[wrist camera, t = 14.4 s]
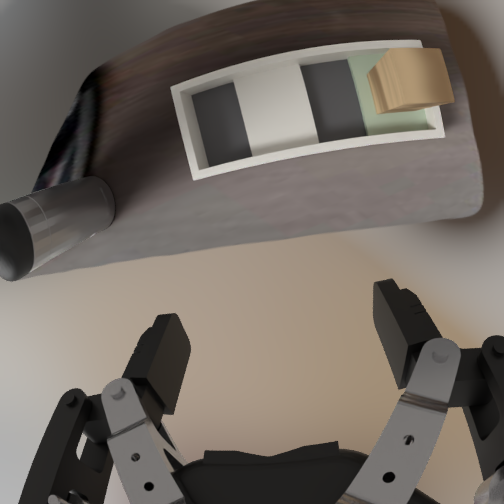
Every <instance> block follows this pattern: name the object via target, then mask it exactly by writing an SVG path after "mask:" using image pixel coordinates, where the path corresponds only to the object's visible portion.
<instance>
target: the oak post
mask: <svg viewBox="0 0 504 504" xmlns="http://www.w3.org/2000/svg"><path fill="white" fill-rule="evenodd" d="M367 78H368V82H369V85H370V89H371V93H372V97H373V101H374V105H375V109H376V114H385V113H396V112H409V111H417V110H421V109H425V108H430V107H434V106H438V105H443V104H448V103H453V102H455V100H454V96H453V91H452V87H451V83H450V80H449V76H448V72H447V69H446V65H445V62H444V59H443V56H442V53H441V50H440V49H439V48H390V49H389V50H388V51H387V52H386V53H385V54H384V55H383V57H382V58H381V59H380V60H379V61H378V62H377V63H376V64H375V66H374V67H373V68H372V69H371V70H370V71H369V72H368V74H367Z"/></svg>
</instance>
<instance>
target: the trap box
mask: <svg viewBox="0 0 504 504" xmlns="http://www.w3.org/2000/svg"><path fill="white" fill-rule="evenodd" d="M390 48H423V46H422V43H421V41H420V40H382V41H365V42H353V43H343V44H335V45H327V46H320V47H314V48H308V49H302V50H296V51H291V52H286V53H281V54H277V55H272V56H268V57H263V58H259V59H255V60H251V61H248V62H244V63H240V64H237V65H233V66H230V67H227V68H223V69H220V70H217V71H214V72H211V73H208V74H205V75H202V76H199V77H196V78H193V79H190V80H188V81H185V82H182V83H180V84H177V85H174V86H172V87H170V88H171V93H172V97H173V101H174V105H175V110H176V114H177V118H178V122H179V126H180V130H181V134H182V138H183V142H184V146H185V150H186V154H187V158H188V162H189V165H190V169H191V173H192V177H193V181H194V180H198V179H201V178H205V177H209V176H213V175H217V174H221V173H225V172H229V171H233V170H238V169H242V168H246V167H251V166H255V165H260V164H264V163H269V162H274V161H279V160H284V159H289V158H294V157H299V156H304V155H310V154H316V153H321V152H327V151H333V150H340V149H346V148H353V147H360V146H367V145H374V144H382V143H391V142H400V141H409V140H420V139H432V138H445V134H444V128H443V122H442V117H441V112H440V108H439V105H438V106H434V107H430V108H425V109H421V110H417V111H409V112H396V113H385V114H376V109H375V105H374V101H373V97H372V93H371V89H370V85H369V82H368V78H367V74H368V72H369V71H370V70H371V69H372V68H373V67H374V66H375V64H376V63H377V62H378V61H379V60H380V59H381V58H382V57H383V55H384V54H385V53H386V52H387V51H388V50H389V49H390Z"/></svg>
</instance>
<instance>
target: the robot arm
mask: <svg viewBox="0 0 504 504" xmlns="http://www.w3.org/2000/svg"><path fill="white" fill-rule="evenodd" d="M114 214H115V201H114V197H113V194H112V191H111V190H110V188H109V186H108V185H107V184H106V183H105V182H104V181H103V180H102V179H100V178H98V177H95V176H89V177H85V178H81V179H78V180H74V181H70V182H66V183H63V184H60V185H56V186H53V187H50V188H47V189H43V190H40V191H37V192H34V193H31V194H28V195H26V196H23V197H20V198H17V199H14V200H11V201H9V202H6V203H3V204H0V276H1V277H2V278H3V279H5V280H7V281H16V280H18V279H20V278H22V277H23V276H25V275H27V274H28V273H30V272H31V271H33V270H35V269H36V268H38V267H39V266H41V265H43V264H44V263H46V262H47V261H49V260H51V259H53V258H54V257H56V256H58V255H59V254H61V253H63V252H65V251H66V250H68V249H70V248H72V247H73V246H75V245H77V244H79V243H81V242H82V241H84V240H86V239H88V238H90V237H92V236H94V235H95V234H97V233H99V232H101V231H103V230H105V229H106V228H108V227H109V225H110V224H111V223H112V221H113V218H114ZM373 318H374V324H375V328H376V330H377V332H378V335H379V338H380V340H381V343H382V345H383V348H384V351H385V353H386V356H387V359H388V361H389V364H390V367H391V369H392V372H393V375H394V378H395V381H396V384H397V386H398V389H403V388H406V390H405V392H404V394H403V395H401V397H400V399H399V401H398V403H397V405H396V407H395V409H394V411H393V413H392V415H391V417H390V419H389V421H388V423H387V425H386V427H385V428H384V430H383V432H382V434H381V436H380V438H379V439H378V441H377V443H376V445H375V446H374V448H373V450H372V452H371V453H370V455H367V454H364V453H361V452H358V451H354V450H347V449H339V446H338V441H335V442H329V443H323V444H316V445H309V446H303V447H300V448H297V449H294V450H291V451H288V452H284V453H281V454H278V455H274V456H270V457H267V456H260V455H255V454H249V453H244V452H239V451H209V450H206V451H205V452H204V458H203V459H200V460H196V461H193V462H191V463H187V461H186V460H185V459H184V458H183V456H182V455H181V453H180V452H179V450H178V448H177V446H176V445H175V443H174V441H173V439H172V438H171V436H170V434H169V432H168V430H167V429H166V427H165V425H164V423H163V422H162V421H161V419H162V416H163V414H168V415H173V414H174V411H175V407H176V403H177V400H178V396H179V392H180V389H181V385H182V381H183V378H184V374H185V371H186V367H187V364H188V360H189V357H190V352H191V345H190V341H189V339H188V336H187V334H186V332H185V330H184V328H183V326H182V323H181V321H180V319H179V317H178V315H177V314H175V313H172V314H162V315H158V316H157V317H156V320H155V322H154V324H153V326H152V327H149V328H148V329H147V330H146V331H145V332H144V333H143V334H142V336H141V337H140V339H139V342H138V343H137V346H136V348H135V350H134V354H132V356H131V358H130V360H129V363H128V365H127V367H126V369H125V371H124V373H123V375H122V378H120V379H116V380H113V381H112V382H110V383H109V384H108V385H106V387H105V388H104V389H103V392H102V393H101V394H97V395H92V396H86V394H85V393H84V392H83V391H82V390H81V389H78V388H75V389H71V390H69V391H67V392H66V393H65V394H64V395H63V396H62V397H61V399H60V401H59V403H58V405H57V407H56V409H55V411H54V413H53V416H52V418H51V420H50V422H49V424H48V427H47V429H46V431H45V433H44V436H43V438H42V440H41V443H40V445H39V448H38V450H37V453H36V455H35V458H34V460H33V463H32V466H31V468H30V471H29V474H28V477H27V479H26V482H25V485H24V488H23V491H22V494H21V497H20V500H19V503H18V504H103V503H104V499H105V495H106V491H107V486H108V483H109V479H110V475H111V471H112V467H113V463H114V464H115V466H116V469H117V471H118V475H119V477H120V480H121V482H122V485H123V487H124V490H125V492H126V494H127V497H128V499H129V501H130V504H440V503H438V502H436V501H435V500H434V499H432V498H430V497H429V496H428V495H426V494H424V493H423V492H421V491H420V490H418V489H417V488H415V487H416V485H417V484H418V482H419V480H420V478H421V476H422V473H423V471H424V469H425V467H426V465H427V463H428V460H429V458H430V456H431V454H432V451H433V449H434V446H435V444H436V441H437V439H438V436H439V434H440V431H441V428H442V425H443V423H444V420H445V417H446V414H447V411H448V408H449V407H462V408H463V412H464V414H465V417H466V420H467V423H468V426H469V429H470V433H471V436H472V439H473V442H474V446H475V449H476V453H477V456H478V460H479V464H480V468H481V472H482V476H483V480H484V482H483V483H482V484H481V485H480V486H479V487H478V489H477V491H476V493H475V497H474V504H504V337H503V336H499V335H495V336H491V337H488V338H487V339H486V340H485V341H484V343H483V345H482V347H481V348H470V349H461V348H459V347H458V346H457V344H456V343H454V342H453V341H452V340H449V339H446V338H443V337H442V336H441V334H440V332H439V331H438V329H437V327H436V326H435V324H434V323H433V321H432V319H431V317H430V316H429V314H428V313H427V312H426V309H425V308H424V306H423V305H422V304H421V302H420V300H419V299H418V297H417V295H416V294H414V293H413V292H411V291H410V290H408V289H407V288H406V289H401V290H400V289H399V287H398V286H397V284H396V283H395V281H394V280H393V279H387V280H383V281H378V282H374V286H373ZM82 433H83V434H85V435H86V436H87V440H86V443H85V446H84V449H83V452H82V455H81V458H80V460H79V459H78V457H77V454H76V449H77V446H78V443H79V441H80V438H81V435H82Z"/></svg>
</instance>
